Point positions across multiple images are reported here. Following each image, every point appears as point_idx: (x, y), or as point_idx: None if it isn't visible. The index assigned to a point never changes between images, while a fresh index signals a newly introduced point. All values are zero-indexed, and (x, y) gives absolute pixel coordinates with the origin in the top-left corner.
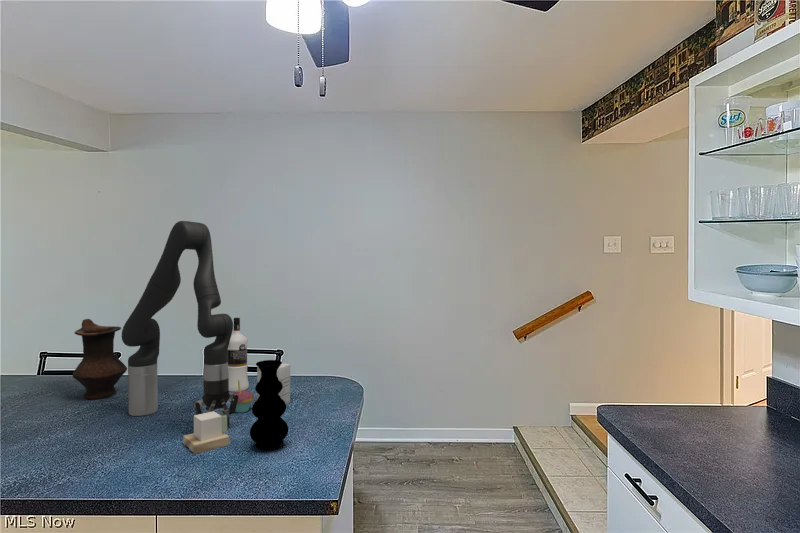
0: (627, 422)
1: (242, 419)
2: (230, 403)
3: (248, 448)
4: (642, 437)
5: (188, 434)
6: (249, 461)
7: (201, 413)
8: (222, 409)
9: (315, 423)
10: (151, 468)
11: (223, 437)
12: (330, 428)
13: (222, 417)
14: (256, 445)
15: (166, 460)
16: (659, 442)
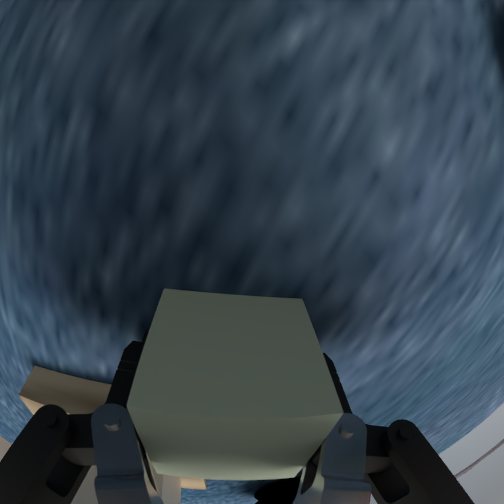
0: (487, 452)
1: (474, 244)
2: (424, 491)
3: (242, 483)
4: (462, 470)
5: (38, 403)
6: (208, 499)
7: (71, 492)
8: (305, 498)
9: (472, 412)
10: (5, 415)
11: (183, 486)
12: (446, 440)
13: (254, 476)
14: (256, 496)
15: (21, 414)
16: (455, 475)
